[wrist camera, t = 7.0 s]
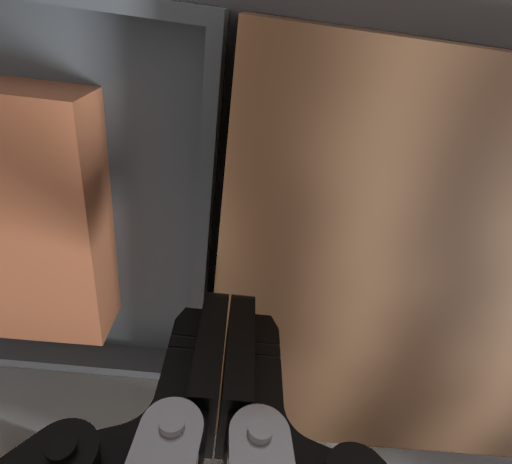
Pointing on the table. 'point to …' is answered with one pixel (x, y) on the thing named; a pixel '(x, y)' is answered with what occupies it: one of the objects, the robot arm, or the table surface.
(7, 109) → the terracotta tile
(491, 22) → the table surface
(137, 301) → the slate tray
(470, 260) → the walnut platform
